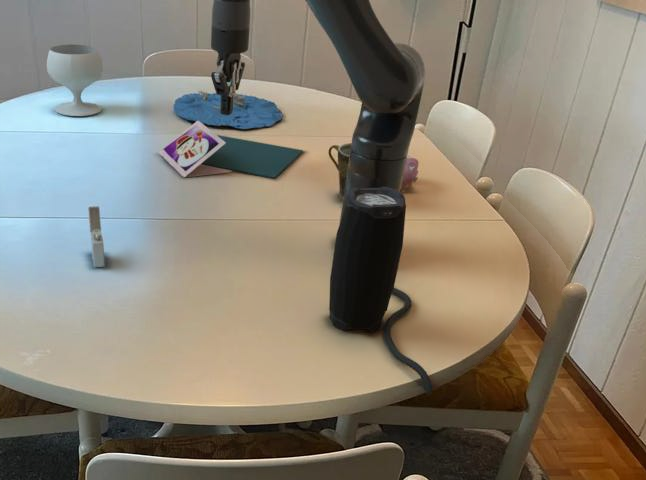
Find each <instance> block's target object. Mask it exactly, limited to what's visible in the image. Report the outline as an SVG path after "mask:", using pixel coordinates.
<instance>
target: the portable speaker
mask: <svg viewBox="0 0 646 480" xmlns="http://www.w3.org/2000/svg"><path fill="white" fill-rule="evenodd" d="M346 199H347V203H346V205H345V208H344V212H343V215H342V218H341V221H340V220H339V224H340V225H338V227H337V232H336V236H335V241H334V250H333V255H332V256H333V257H332V263H331V268H330V269H331V270H330V276H329V303H328V304H329V307H328V310H329V320H330V322H331V324H332V326H334V327H335V328H336V329H339V330H341V331H343V332H347V331H349V330H350V329H359V330H360V329H362V330H368V331H369V332H370V333H375V332H377V331H379V329H380V328H381V327H382V324H383V320H384V317H385V315H386V312H387V311H388V308H389V305H390V300H391V297H392V295H393V294H392V292H393V289H394V288H395V283H396V279H397V274H398V269H399V265H400V260H401V256H402V251H403V246H404V238H405V237H404V235H405V222H406V210H407V204H406V197H405V195H404V193H403V192H401V191H400V192H399V191H398V190H396V189H392V188H388V187H380V188H354V187H353V188H352V189H350V190H349V192H348V194H347V196H346Z"/></svg>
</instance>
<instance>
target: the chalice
mask: <svg viewBox="0 0 646 480" xmlns="http://www.w3.org/2000/svg"><path fill="white" fill-rule="evenodd" d="M46 71H47V73H48V76H49V77H50V78H51V80H53V81H55V82H56V83H58V84H60V85H61V86H64V87H66V88H67V89H68V90H69V91H70V92H71V93H72V96H73V99H72V101H70V102H64V103H60V104H58V105H56V106H55V107H54V112H56V113H58V114H59V115H64V116H71V117H85V116H91V115H96V114H98V113H100V112H102V110H103V109H102V107H101V106H100V105H98V104H96V103H91V102H86V101H83V99H82V93H83V92H84V90H85V89H87V88H88V87H89V86H91V85H93V84H94V83H96V82H97V81H98V80H99V79H101V78H102V76H103V74H104V73H103V72H104V65H103V60H102V56H101V53H100V51H99V50H98V48H96V47H94V46H92V45H85V44H60V45H55V46H52V47H51V48H50V49H49V51H48V54H47V59H46Z"/></svg>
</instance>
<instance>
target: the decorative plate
mask: <svg viewBox="0 0 646 480" xmlns="http://www.w3.org/2000/svg"><path fill="white" fill-rule="evenodd" d="M233 96H234V97H233V112H232V114H230V115H223V114H221V112H220V111H221V96H220V95H217V94H216V92H213V93H208V92H205V91H203V90H198V93H194V92H193V93H188V94H186V93H185V94H183V95H181V97H178V98H176V100H174V103H173V111H174V113H175V114H176V115H177V116H179V117H180V118H182V119H185V120H186V121H191V122H194V123H195V122H197V121H200V122H201V123H202V124H203V125H205V124H207V125H208V126H215V127H221V126H230V127H232V128H235V129H241V130H250V129H252V128H253V129H255V128H259V129H260V128H266V127H272V126H273V125H275V123H277V122H278V121H280V120H282V119H283V115H282V114H283V113H282V111H281V110H278V106H277V104H276V102H274V101H271V100H267V99H265V98H260V97H257V96H253V95H247V94H242V93H241V94H239V93H237V92H236V91H235V95H233Z"/></svg>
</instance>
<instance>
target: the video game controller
mask: <svg viewBox="0 0 646 480" xmlns="http://www.w3.org/2000/svg"><path fill="white" fill-rule="evenodd" d="M418 168H419V160H418V159H416V158H414V157H411V156H410V155H409V156H407V160H406V165H405V170H404V174H403V180H402V185H401V190H405V188H406V187H407V186H410V185H411V184H412V183H416V182H417V181H418V175H419V170H418Z"/></svg>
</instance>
